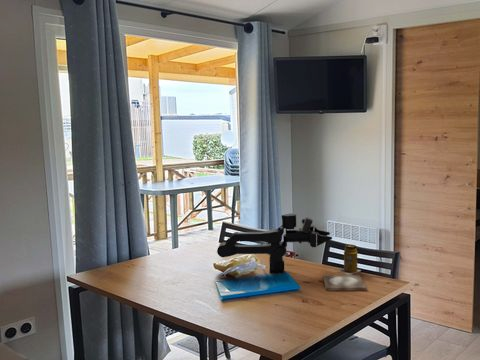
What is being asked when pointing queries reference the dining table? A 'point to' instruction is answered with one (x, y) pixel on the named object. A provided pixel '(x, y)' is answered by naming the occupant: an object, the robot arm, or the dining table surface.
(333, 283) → the grey flat square slab
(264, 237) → the robot arm
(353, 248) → the condiment
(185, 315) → the dining table surface
